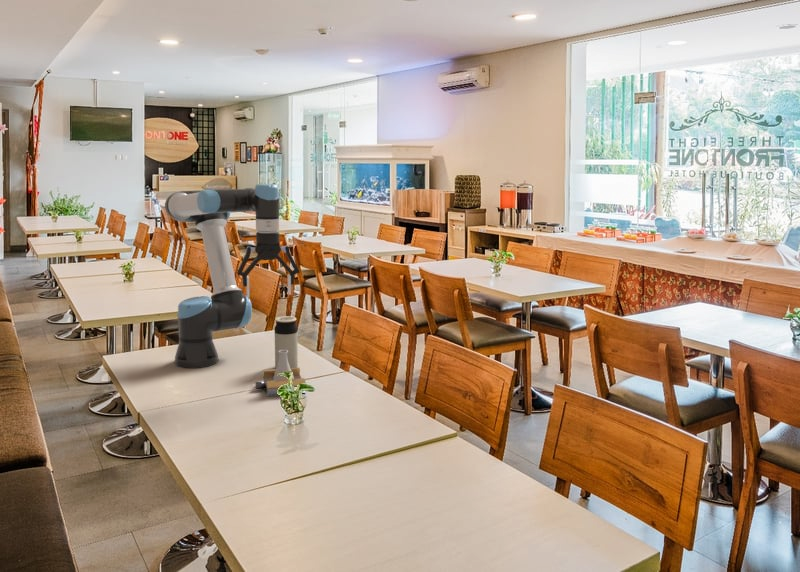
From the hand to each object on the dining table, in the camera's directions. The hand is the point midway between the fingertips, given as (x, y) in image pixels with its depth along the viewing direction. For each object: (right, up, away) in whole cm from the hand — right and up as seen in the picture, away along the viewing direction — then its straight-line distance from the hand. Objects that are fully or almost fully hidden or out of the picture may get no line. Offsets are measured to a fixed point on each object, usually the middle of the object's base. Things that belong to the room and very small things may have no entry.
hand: (268, 295), depth 230 cm
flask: (+6, -28, -5) cm, 29 cm away
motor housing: (+4, -30, -5) cm, 31 cm away
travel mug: (+3, -26, +17) cm, 31 cm away
